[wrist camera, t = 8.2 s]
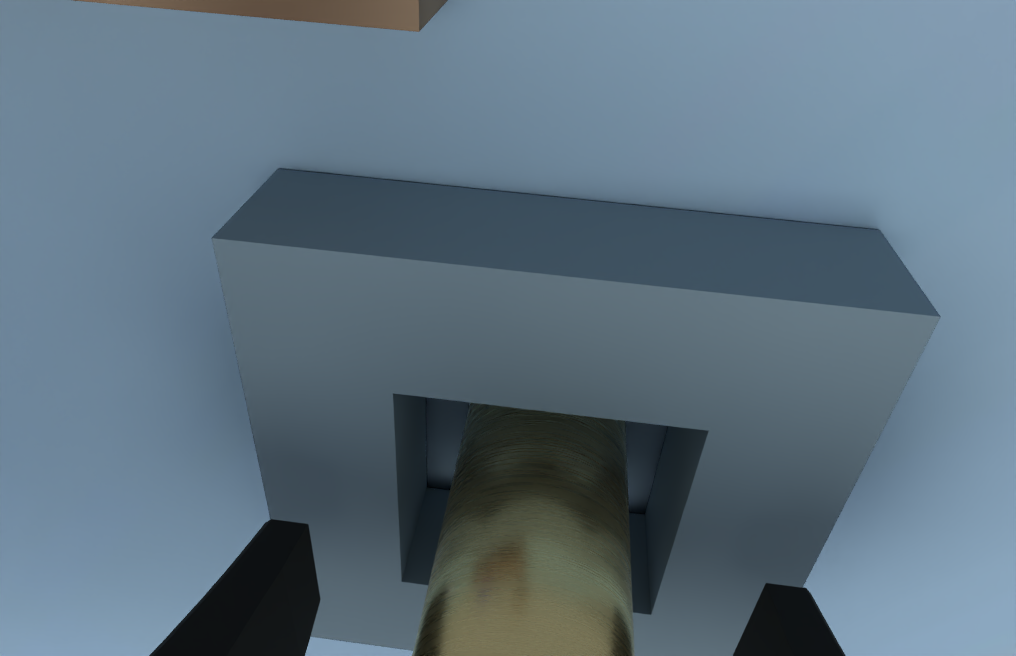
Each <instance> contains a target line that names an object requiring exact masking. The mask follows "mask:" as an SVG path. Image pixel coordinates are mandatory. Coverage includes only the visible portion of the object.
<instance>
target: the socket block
mask: <svg viewBox="0 0 1016 656" xmlns="http://www.w3.org/2000/svg"><path fill="white" fill-rule="evenodd" d="M75 1H86V2H97V3H108V4H119V5H130V6H141V7H152V8H163V9H174V10H185V11H196V12H207V13H218V14H229V15H240V16H251V17H262V18H273V19H284V20H295V21H306V22H317V23H328V24H339V25H350V26H361V27H373V28H384V29H395V30H406V31H417V32H419V31H420V30H421V29H422V28H423V27H424V26H425V25H426V24H427V23H428V21H429V20H430V19H431V18H432V17H433V16H434V15H435V14H436V13H437V12H438V10H439V9H440V8H441V7H442V6H443V5H444V4H445V3H446V2H447V1H448V0H75Z"/></svg>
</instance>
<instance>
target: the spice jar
mask: <svg viewBox="0 0 1016 656" xmlns="http://www.w3.org/2000/svg"><path fill="white" fill-rule="evenodd" d="M412 656H635V654H634V629H633V604H632V579H631V554H630V529H629V504H628V479H627V454H626V429H625V421H622V420H613V419H605V418H597V417H588V416H580V415H571V414H563V413H554V412H546V411H537V410H529V409H521V408H512V407H504V406H495V405H487V404H478V403H470V406H469V411H468V415H467V419H466V424H465V428H464V432H463V437H462V441H461V445H460V450H459V454H458V458H457V463H456V467H455V471H454V476H453V480H452V485H451V489H450V493H449V498H448V502H447V506H446V511H445V515H444V519H443V524H442V528H441V532H440V537H439V541H438V546H437V550H436V554H435V559H434V563H433V567H432V572H431V576H430V580H429V585H428V589H427V593H426V598H425V602H424V606H423V611H422V615H421V620H420V624H419V628H418V633H417V637H416V641H415V646H414V650H413V654H412Z"/></svg>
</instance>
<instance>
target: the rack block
mask: <svg viewBox="0 0 1016 656" xmlns="http://www.w3.org/2000/svg"><path fill="white" fill-rule="evenodd" d="M212 242H213V247H214V251H215V256H216V261H217V266H218V271H219V275H220V280H221V285H222V290H223V294H224V299H225V304H226V309H227V314H228V318H229V323H230V328H231V333H232V338H233V342H234V347H235V352H236V357H237V361H238V366H239V371H240V376H241V381H242V385H243V390H244V395H245V400H246V404H247V409H248V414H249V419H250V424H251V428H252V433H253V438H254V443H255V447H256V452H257V457H258V462H259V467H260V471H261V476H262V481H263V486H264V491H265V495H266V500H267V505H268V510H269V514H270V519H274V520H282V521H290V522H298V523H305V524H308V525H309V531H310V537H311V543H312V549H313V556H314V562H315V568H316V574H317V580H318V586H319V593H320V599H321V600H320V604H319V607H318V611H317V615H316V618H315V622H314V625H313V629H312V633H311V636H310V637H317V638H324V639H332V640H339V641H346V642H353V643H361V644H368V645H375V646H382V647H390V648H397V649H404V650H411V651H413V650H414V646H415V641H416V637H417V633H418V628H419V624H420V620H421V615H422V611H423V606H424V602H425V598H426V593H427V589H428V585H429V580H430V576H431V572H432V567H433V563H434V559H435V554H436V550H437V546H438V541H439V537H440V532H441V528H442V524H443V519H444V515H445V511H446V506H447V502H448V498H449V493H450V490H443V489H435V488H427V469H426V397H428V398H436V399H445V400H453V401H461V402H470V403H478V404H487V405H495V406H504V407H512V408H521V409H529V410H537V411H546V412H554V413H563V414H571V415H580V416H588V417H597V418H605V419H613V420H622V421H630V422H639V423H647V424H656V425H664V426H668V429H667V433H666V437H665V441H664V444H663V448H662V452H661V456H660V459H659V463H658V467H657V471H656V475H655V478H654V482H653V486H652V490H651V493H650V497H649V501H648V505H647V509H646V512H645V515H643V514H635V513H629V529H630V554H631V579H632V604H633V629H634V654H635V656H733V654H734V651H735V649H736V647H737V645H738V643H739V640H740V638H741V636H742V634H743V632H744V630H745V627H746V625H747V623H748V621H749V619H750V616H751V614H752V612H753V610H754V608H755V605H756V603H757V601H758V599H759V597H760V594H761V592H762V590H763V588H764V586H765V584H766V583H771V584H778V585H786V586H794V587H803V585H804V583H805V581H806V579H807V578H808V576H809V574H810V572H811V570H812V568H813V566H814V564H815V562H816V560H817V558H818V556H819V554H820V552H821V550H822V548H823V546H824V544H825V542H826V540H827V538H828V536H829V534H830V532H831V530H832V529H833V527H834V525H835V523H836V521H837V519H838V517H839V515H840V513H841V511H842V509H843V507H844V505H845V503H846V501H847V499H848V497H849V495H850V493H851V491H852V489H853V487H854V485H855V483H856V482H857V480H858V478H859V476H860V474H861V472H862V470H863V468H864V466H865V464H866V462H867V460H868V458H869V456H870V454H871V452H872V450H873V448H874V446H875V444H876V442H877V440H878V438H879V436H880V434H881V433H882V431H883V429H884V427H885V425H886V423H887V421H888V419H889V417H890V415H891V413H892V411H893V409H894V407H895V405H896V403H897V401H898V399H899V397H900V395H901V393H902V391H903V389H904V387H905V385H906V384H907V382H908V380H909V378H910V376H911V374H912V372H913V370H914V368H915V366H916V364H917V362H918V360H919V358H920V356H921V354H922V352H923V350H924V348H925V346H926V344H927V342H928V340H929V338H930V336H931V335H932V333H933V331H934V329H935V327H936V325H937V323H938V321H939V319H940V315H939V314H938V313H937V311H936V310H935V308H934V307H933V305H932V304H931V303H930V301H929V300H928V298H927V297H926V295H925V294H924V292H923V291H922V290H921V288H920V287H919V285H918V284H917V282H916V281H915V280H914V278H913V277H912V275H911V274H910V272H909V271H908V270H907V268H906V267H905V265H904V264H903V262H902V261H901V260H900V258H899V257H898V255H897V254H896V252H895V251H894V250H893V248H892V247H891V245H890V244H889V242H888V241H887V240H886V238H885V237H884V235H883V234H882V232H881V231H880V230H873V229H863V228H853V227H843V226H834V225H824V224H814V223H804V222H794V221H785V220H775V219H765V218H755V217H746V216H736V215H726V214H716V213H706V212H697V211H687V210H677V209H667V208H657V207H648V206H638V205H628V204H618V203H609V202H599V201H589V200H579V199H569V198H560V197H550V196H540V195H530V194H520V193H511V192H501V191H491V190H481V189H471V188H462V187H452V186H442V185H432V184H423V183H413V182H403V181H393V180H383V179H374V178H364V177H354V176H344V175H334V174H325V173H315V172H305V171H295V170H286V169H277V170H276V171H275V173H274V174H273V175H272V176H271V177H270V178H269V179H268V180H267V181H266V182H265V183H264V184H263V185H262V186H261V187H260V188H259V189H258V190H257V191H256V192H255V193H254V194H253V195H252V197H251V198H250V199H249V200H248V201H247V202H246V203H245V204H244V205H243V206H242V207H241V208H240V209H239V210H238V211H237V212H236V213H235V214H234V215H233V216H232V217H231V218H230V219H229V221H228V222H227V223H226V224H225V225H224V226H223V227H222V228H221V229H220V230H219V231H218V232H217V233H216V234H215V235H214V236H213V237H212Z"/></svg>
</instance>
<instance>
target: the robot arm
mask: <svg viewBox="0 0 1016 656" xmlns="http://www.w3.org/2000/svg"><path fill="white" fill-rule="evenodd" d="M320 600H321V599H320V593H319V586H318V580H317V574H316V568H315V562H314V556H313V549H312V543H311V537H310V531H309V525H308V524H305V523H298V522H290V521H282V520H274V519H271V520H269V521H268V522H266V523H265V524H264V525H263V526H262V528H261V529H260V530H259V531H258V533H257V534H256V535H255V536H254V538H253V539H252V540H251V541H250V543H249V544H248V545H247V546H246V547H245V549H244V550H243V551H242V552H241V554H240V555H239V556H238V557H237V558H236V560H235V561H234V562H233V563H232V564H231V565H230V567H229V568H228V569H227V570H226V571H225V573H224V574H223V575H222V576H221V577H220V578H219V580H218V581H217V582H216V583H215V584H214V585H213V586H212V588H211V589H210V590H209V591H208V592H207V593H206V595H205V596H204V597H203V598H202V599H201V600H200V601H199V602H198V604H197V605H196V606H195V607H194V608H193V609H192V610H191V611H190V612H189V613H188V614H187V616H186V617H185V618H184V619H183V620H182V621H181V622H180V623H179V624H178V625H177V627H176V628H175V629H174V630H173V631H172V632H171V633H170V634H169V635H168V636H167V638H166V639H165V640H164V641H163V642H162V643H161V644H160V645H159V646H158V647H157V648H156V649H155V650H154V651H153V652H152V653H151V654H150V655H149V656H305V653H306V650H307V646H308V643H309V640H310V636H311V633H312V629H313V625H314V622H315V618H316V615H317V611H318V607H319V604H320ZM733 656H845V654H844V652H843V651H842V649H841V647H840V645H839V644H838V642H837V640H836V638H835V636H834V635H833V633H832V631H831V629H830V628H829V626H828V624H827V622H826V620H825V619H824V617H823V615H822V613H821V611H820V609H819V608H818V606H817V604H816V602H815V600H814V599H813V597H812V595H811V593H810V592H809V591H808V590H807V589H806V588H802V587H794V586H786V585H778V584H771V583H766V584H765V586H764V588H763V590H762V592H761V594H760V597H759V599H758V601H757V603H756V605H755V608H754V610H753V612H752V614H751V616H750V619H749V621H748V623H747V625H746V627H745V630H744V632H743V634H742V636H741V638H740V640H739V643H738V645H737V647H736V649H735V651H734V654H733Z"/></svg>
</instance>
